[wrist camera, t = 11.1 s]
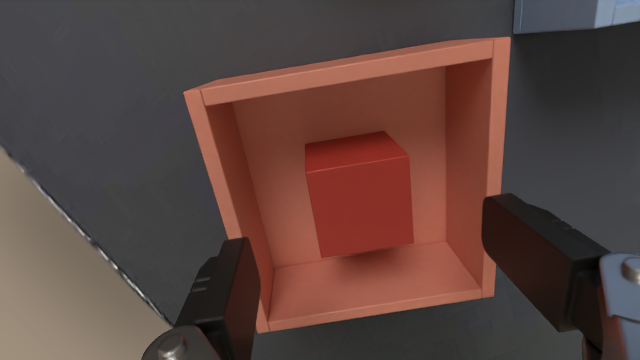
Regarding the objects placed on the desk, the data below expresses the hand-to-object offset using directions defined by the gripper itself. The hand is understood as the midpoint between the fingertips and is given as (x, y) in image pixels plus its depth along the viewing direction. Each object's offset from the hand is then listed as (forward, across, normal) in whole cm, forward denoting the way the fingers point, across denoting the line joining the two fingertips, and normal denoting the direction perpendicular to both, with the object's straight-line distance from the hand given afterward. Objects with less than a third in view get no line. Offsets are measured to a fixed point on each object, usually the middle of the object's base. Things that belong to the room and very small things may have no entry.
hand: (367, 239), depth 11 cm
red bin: (+7, 0, 0) cm, 7 cm away
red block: (+6, 0, 0) cm, 6 cm away
